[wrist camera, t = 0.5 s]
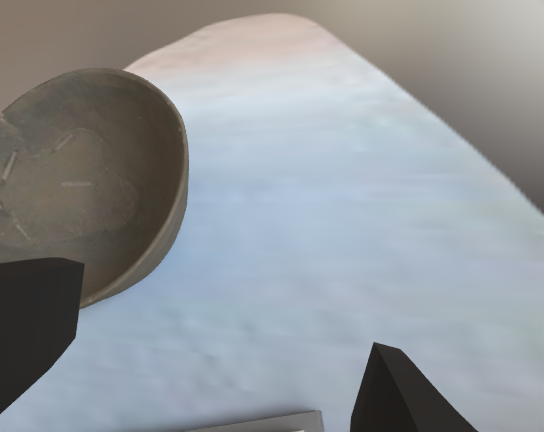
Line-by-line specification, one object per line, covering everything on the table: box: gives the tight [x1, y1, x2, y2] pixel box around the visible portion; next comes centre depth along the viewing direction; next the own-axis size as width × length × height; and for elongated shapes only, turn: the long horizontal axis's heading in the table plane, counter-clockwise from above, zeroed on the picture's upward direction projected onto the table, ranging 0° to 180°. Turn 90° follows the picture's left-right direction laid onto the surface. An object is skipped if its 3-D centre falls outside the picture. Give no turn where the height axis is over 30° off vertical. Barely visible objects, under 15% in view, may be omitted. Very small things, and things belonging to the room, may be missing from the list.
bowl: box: [0, 68, 189, 310], centre depth 38 cm, size 19×19×10 cm
